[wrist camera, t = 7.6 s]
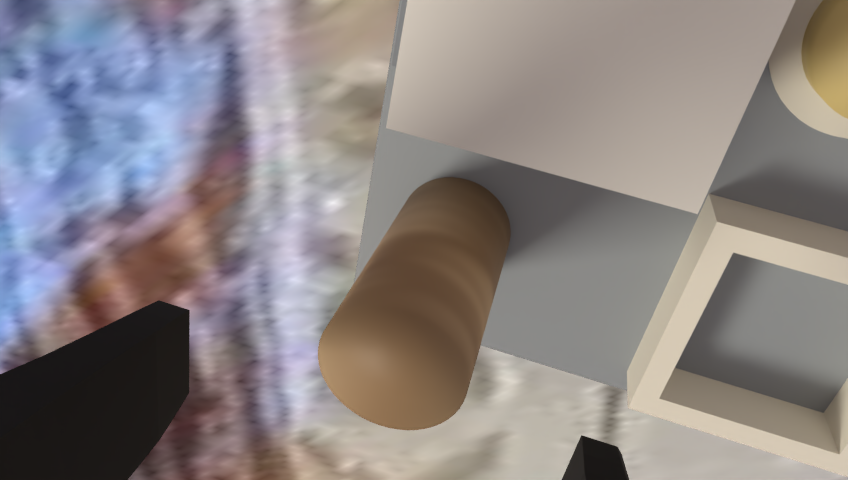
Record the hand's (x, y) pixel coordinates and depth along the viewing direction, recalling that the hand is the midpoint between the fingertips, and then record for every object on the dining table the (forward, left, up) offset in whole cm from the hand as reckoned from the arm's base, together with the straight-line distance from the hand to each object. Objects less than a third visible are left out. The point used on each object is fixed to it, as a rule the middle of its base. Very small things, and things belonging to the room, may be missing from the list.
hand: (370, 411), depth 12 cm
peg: (0, 0, -7) cm, 7 cm away
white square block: (-2, -7, -7) cm, 10 cm away
